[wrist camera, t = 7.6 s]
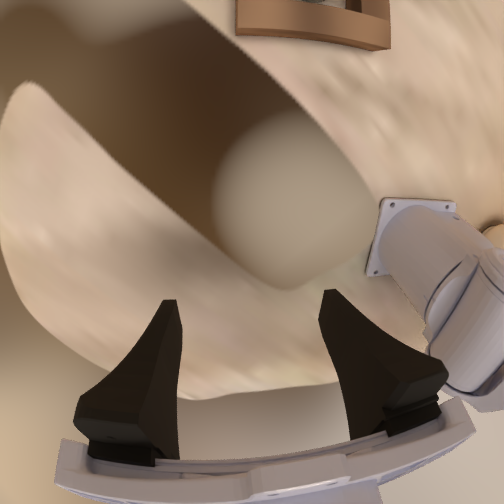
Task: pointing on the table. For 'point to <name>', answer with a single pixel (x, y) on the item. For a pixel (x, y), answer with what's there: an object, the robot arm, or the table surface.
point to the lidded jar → (495, 235)
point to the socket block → (318, 21)
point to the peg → (313, 1)
